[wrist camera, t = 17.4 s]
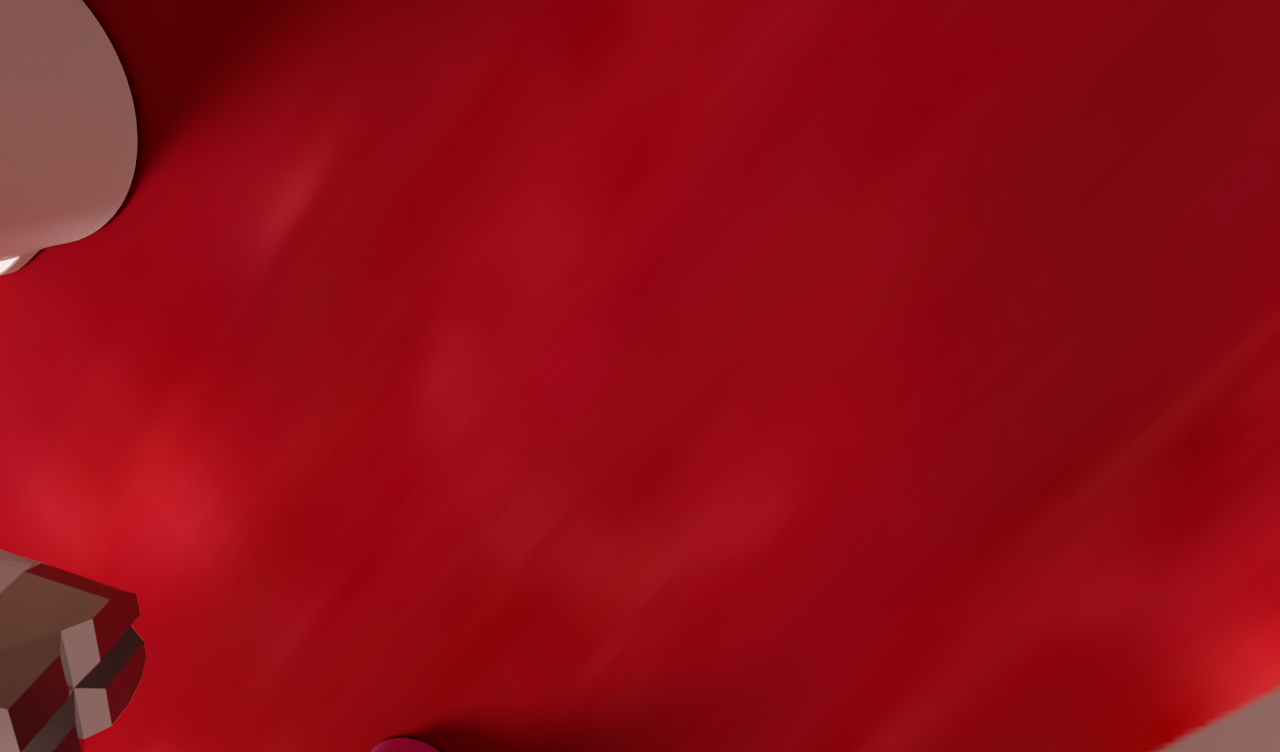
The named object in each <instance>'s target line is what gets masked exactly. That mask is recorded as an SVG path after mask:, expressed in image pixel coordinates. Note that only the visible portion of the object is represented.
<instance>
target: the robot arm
mask: <svg viewBox="0 0 1280 752" xmlns="http://www.w3.org/2000/svg"><path fill="white" fill-rule="evenodd" d="M136 159H137V123H136V115H135V109H134V104H133V100H132V95H131V91H130V88H129V85H128V82H127V78H126V76H125V73H124V70H123V68H122V65H121V63H120V61H119V58H118V56H117V54H116V52H115V50H114V48H113V46H112V44H111V42H110V40H109V39H108V37H107V35H106V33H105V32H104V30H103V28H102V27H101V25H100V24H99V22H98V21H97V19H96V18H95V16H94V15H93V14H92V12H91V11H90V10H89V8H88V7H87V6H86V5H85V3H84V2H83V1H82V0H0V275H4V274H8V273H12V272H15V271H17V270H18V269H20V268H21V267H22V266H24V265H25V264H26V263H27V262H28V261H29V260H30V259H31V258H32V257H33V256H34V255H35V254H36V253H37V252H38V251H39V250H41V249H44V248H46V247H50V246H54V245H59V244H64V243H69V242H73V241H76V240H79V239H82V238H84V237H86V236H88V235H90V234H92V233H94V232H95V231H97V230H98V229H100V228H101V227H102V226H104V225H105V224H106V223H107V222H108V221H109V220H110V219H111V218H112V217H113V216H114V214H115V213H116V212H117V211H118V209H119V208H120V206H121V204H122V203H123V201H124V199H125V197H126V195H127V193H128V190H129V188H130V185H131V182H132V179H133V175H134V171H135V165H136ZM140 615H141V614H140V610H139V605H138V600H137V595H136V594H135V593H132V592H129V591H126V590H123V589H120V588H117V587H114V586H111V585H108V584H105V583H102V582H98V581H95V580H92V579H89V578H86V577H83V576H80V575H77V574H74V573H71V572H68V571H65V570H62V569H59V568H55V567H52V566H49V565H48V564H45V563H42V562H39V561H36V560H33V559H29V558H26V557H23V556H20V555H16V554H13V553H10V552H7V551H4V550H0V752H84V739H85V738H87V737H89V736H92V735H94V734H96V733H98V732H100V731H102V730H104V729H106V728H108V727H110V726H112V725H113V724H114V722H115V721H116V720H117V718H118V717H119V716H120V714H121V713H122V712H123V711H124V709H125V708H126V707H127V705H128V704H129V703H130V701H131V699H132V697H133V695H134V693H135V691H136V688H137V686H138V684H139V682H140V680H141V678H142V676H143V671H144V665H145V660H146V652H145V644H144V641H143V640H142V638H141V637H140V636H139V635H138V634H137V632H136V631H135V630H134V629H133V628H132V626H131V625H132V624H133V623H134V622H135V620H136V619H137V618H138V617H139V616H140Z"/></svg>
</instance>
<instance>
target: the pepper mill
mask: <svg viewBox="0 0 1280 752" xmlns="http://www.w3.org/2000/svg"><path fill="white" fill-rule="evenodd" d="M371 752H440V751H439V750H437V749H436V748H434V747H433V746H431V745H429V744H427V743H424V742H422V741H419V740H415V739H410V738H393V739H388V740H385V741H383V742H381V743H379V744H378V745H376V746H375V747H374V748H373V749H372V751H371Z"/></svg>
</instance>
